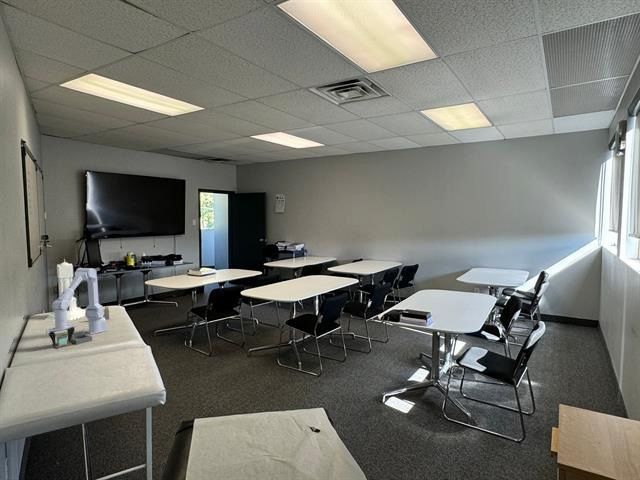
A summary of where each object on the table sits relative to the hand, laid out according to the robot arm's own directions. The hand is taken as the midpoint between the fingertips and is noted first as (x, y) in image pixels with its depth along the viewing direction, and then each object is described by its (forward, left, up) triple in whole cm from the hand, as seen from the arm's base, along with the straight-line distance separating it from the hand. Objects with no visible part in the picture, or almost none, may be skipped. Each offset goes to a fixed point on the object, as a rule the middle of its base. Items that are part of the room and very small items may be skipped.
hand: (62, 342), depth 213 cm
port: (-10, -2, -2) cm, 10 cm away
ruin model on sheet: (-36, -38, -2) cm, 52 cm away
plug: (0, 0, -2) cm, 2 cm away
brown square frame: (0, 0, -2) cm, 2 cm away
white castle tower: (-25, -69, -2) cm, 73 cm away
